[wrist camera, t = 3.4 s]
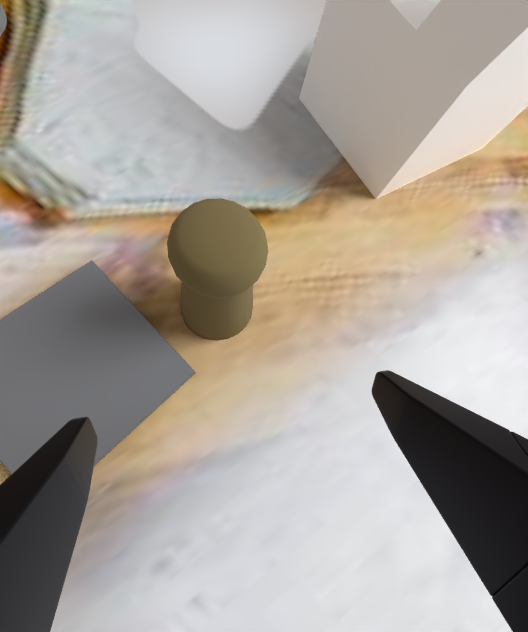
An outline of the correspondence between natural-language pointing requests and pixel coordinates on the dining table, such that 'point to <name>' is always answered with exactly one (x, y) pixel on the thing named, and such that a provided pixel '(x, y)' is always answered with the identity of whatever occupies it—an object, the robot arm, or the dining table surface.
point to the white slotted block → (416, 82)
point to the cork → (217, 265)
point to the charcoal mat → (80, 366)
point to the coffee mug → (2, 20)
